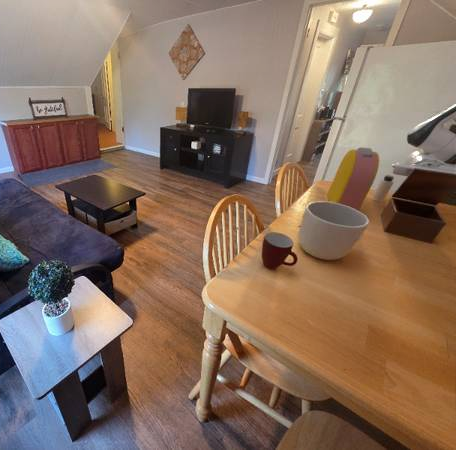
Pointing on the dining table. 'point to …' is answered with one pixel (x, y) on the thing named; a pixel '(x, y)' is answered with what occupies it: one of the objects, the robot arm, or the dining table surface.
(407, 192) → the box lid
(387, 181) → the pepper mill
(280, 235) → the mug
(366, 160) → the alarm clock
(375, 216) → the dining table surface
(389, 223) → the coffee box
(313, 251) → the planter
